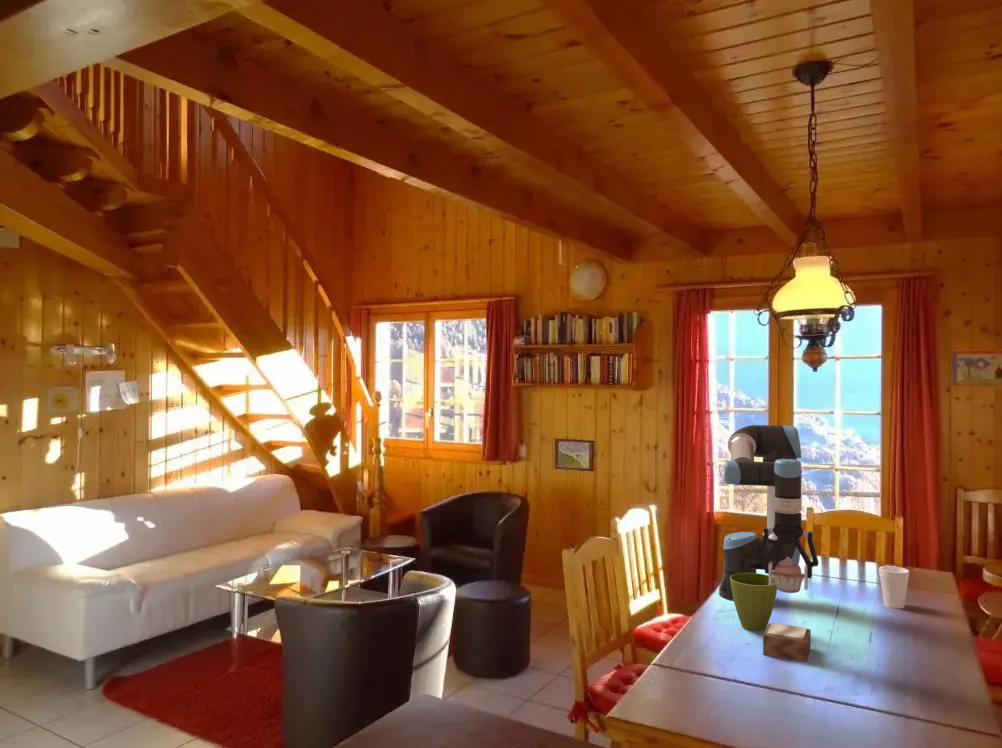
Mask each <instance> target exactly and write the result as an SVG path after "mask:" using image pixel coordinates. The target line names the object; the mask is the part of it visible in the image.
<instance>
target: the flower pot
mask: <svg viewBox="0 0 1002 748" xmlns="http://www.w3.org/2000/svg"><path fill="white" fill-rule="evenodd" d="M730 582H731V589H732V594H733V599H734V600H733V602H734V607H735V610H736V613H737V617H738V619H739V622H740V624H741V627H742V628H743V629H744V630H747V631H750V632H763V630H764V631H765V630H766V628H767V626H768V624H769V623H770V619H771V616H772V614H773V613H772V612H773V611H774V610H773V609H774V606H775V603H776V597H777V593H778V589H777V587H776V582H775V579H774V577H773V576H772V585H771V586H769V574H764V573H763V574H762V573H757V572H756V573H737V574H733V575H731V576H730Z"/></svg>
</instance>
